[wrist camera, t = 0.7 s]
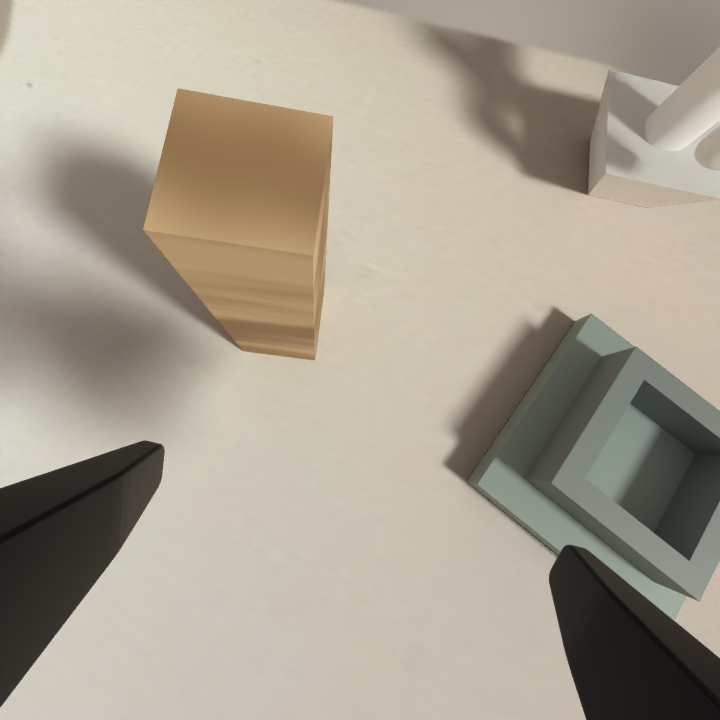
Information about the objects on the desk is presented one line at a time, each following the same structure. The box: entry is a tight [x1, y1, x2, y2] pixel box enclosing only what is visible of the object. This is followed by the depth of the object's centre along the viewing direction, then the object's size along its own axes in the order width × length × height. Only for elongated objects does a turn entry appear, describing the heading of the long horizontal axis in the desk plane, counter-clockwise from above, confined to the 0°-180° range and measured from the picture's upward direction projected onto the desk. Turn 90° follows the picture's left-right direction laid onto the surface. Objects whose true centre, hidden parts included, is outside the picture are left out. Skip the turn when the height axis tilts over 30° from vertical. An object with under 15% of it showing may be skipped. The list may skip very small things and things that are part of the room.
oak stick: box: [143, 89, 333, 360], centre depth 16 cm, size 4×4×13 cm
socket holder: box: [467, 314, 720, 621], centre depth 21 cm, size 12×12×4 cm
